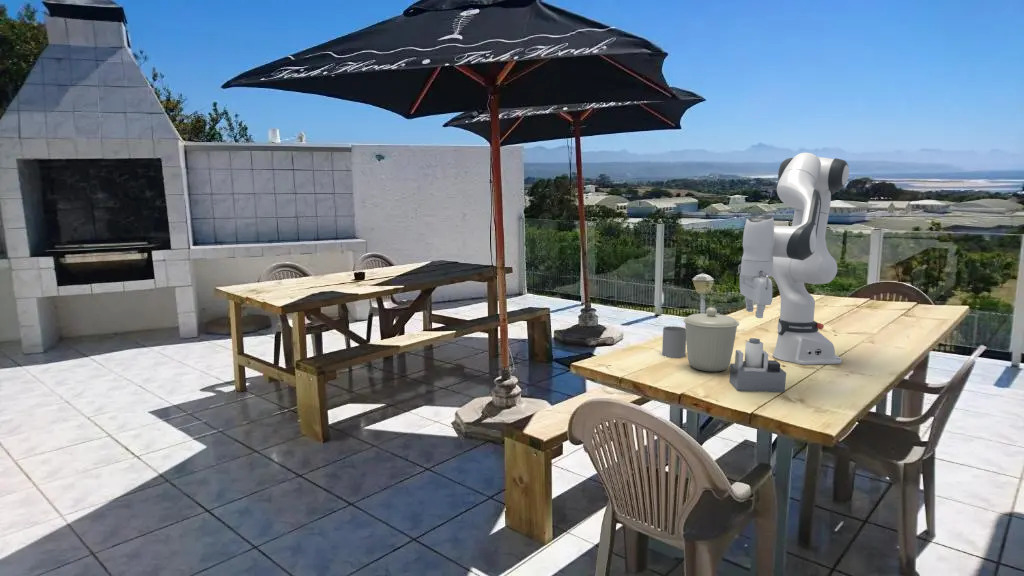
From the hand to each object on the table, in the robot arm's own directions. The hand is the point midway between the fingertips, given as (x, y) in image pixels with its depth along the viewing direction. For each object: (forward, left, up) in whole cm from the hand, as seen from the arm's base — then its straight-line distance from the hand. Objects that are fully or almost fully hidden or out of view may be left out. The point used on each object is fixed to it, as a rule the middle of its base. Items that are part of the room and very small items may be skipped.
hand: (754, 314), depth 184 cm
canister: (+8, -20, -23) cm, 31 cm away
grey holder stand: (-2, 0, -23) cm, 23 cm away
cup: (+17, -36, -23) cm, 46 cm away
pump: (-1, 0, -17) cm, 17 cm away
